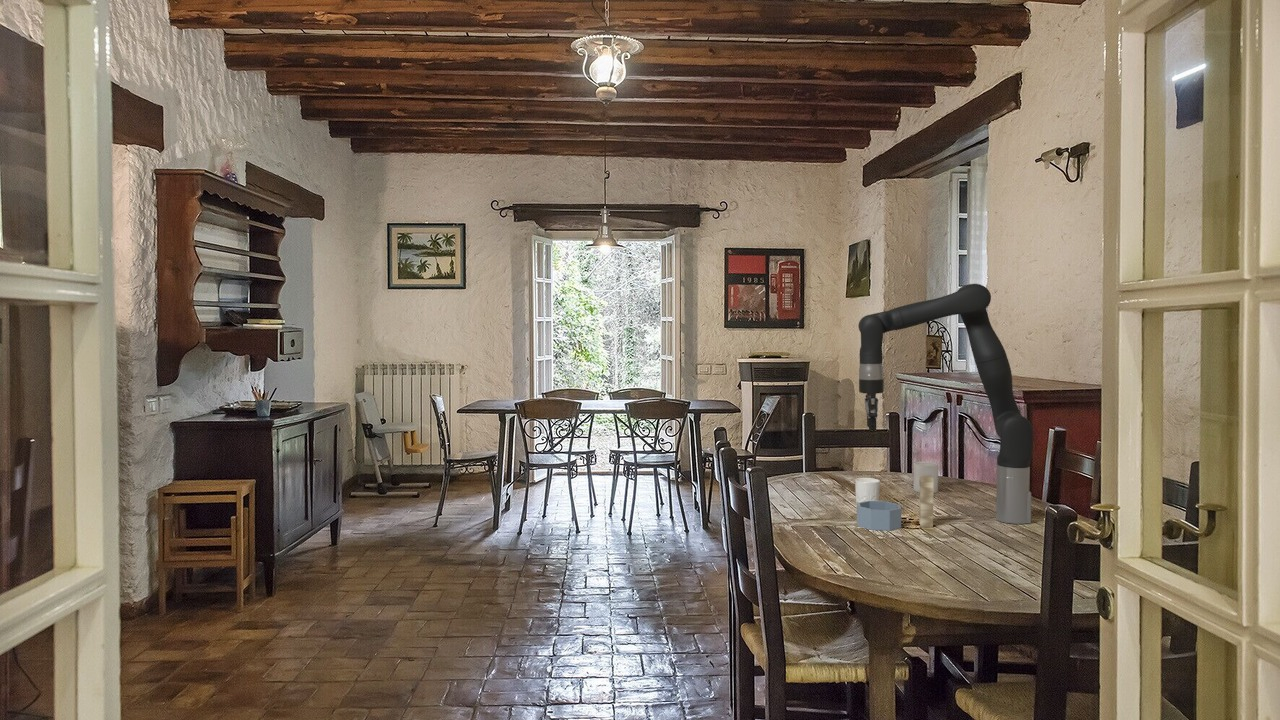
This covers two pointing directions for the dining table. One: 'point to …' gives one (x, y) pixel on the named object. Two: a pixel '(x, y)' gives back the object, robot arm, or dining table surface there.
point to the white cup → (867, 489)
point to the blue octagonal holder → (879, 515)
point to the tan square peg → (926, 501)
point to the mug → (926, 470)
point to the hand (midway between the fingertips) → (871, 428)
